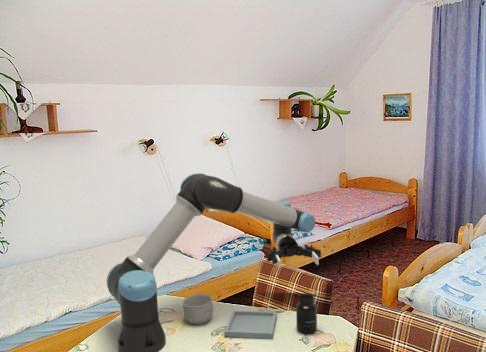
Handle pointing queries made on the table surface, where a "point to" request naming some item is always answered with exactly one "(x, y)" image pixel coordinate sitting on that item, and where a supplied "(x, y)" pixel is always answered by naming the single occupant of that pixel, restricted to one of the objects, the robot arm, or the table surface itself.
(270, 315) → the tray
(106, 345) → the table surface
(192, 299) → the teacup
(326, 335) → the table surface
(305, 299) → the supplement bottle
